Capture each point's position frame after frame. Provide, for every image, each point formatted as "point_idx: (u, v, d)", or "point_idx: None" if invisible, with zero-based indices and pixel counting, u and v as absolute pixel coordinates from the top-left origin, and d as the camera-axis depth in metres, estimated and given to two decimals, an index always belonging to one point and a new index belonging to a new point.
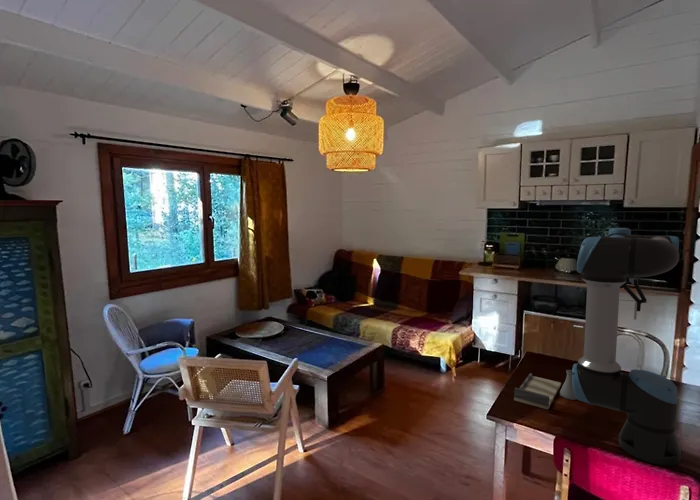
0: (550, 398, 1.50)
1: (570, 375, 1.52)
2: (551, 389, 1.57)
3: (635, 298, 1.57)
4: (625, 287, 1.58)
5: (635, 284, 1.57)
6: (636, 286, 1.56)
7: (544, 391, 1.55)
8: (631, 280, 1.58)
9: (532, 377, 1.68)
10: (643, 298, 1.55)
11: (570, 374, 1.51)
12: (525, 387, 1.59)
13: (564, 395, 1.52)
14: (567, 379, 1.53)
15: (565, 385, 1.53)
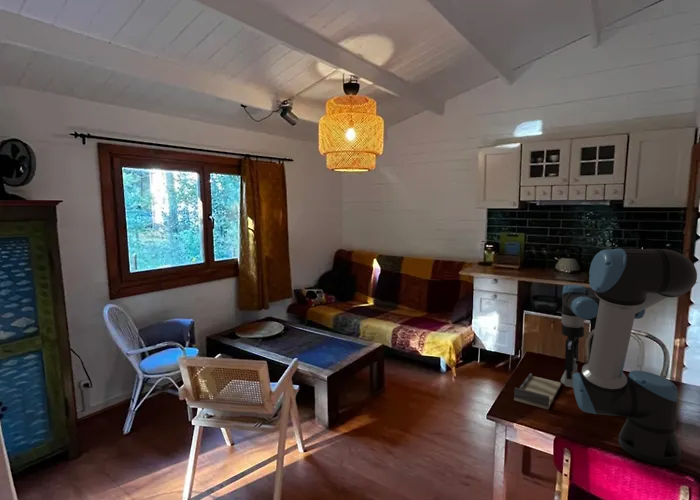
0: (550, 398, 1.50)
1: None
2: (551, 389, 1.57)
3: None
4: None
5: (566, 348, 1.47)
6: None
7: (544, 391, 1.55)
8: (568, 343, 1.47)
9: (532, 377, 1.68)
10: (565, 364, 1.47)
11: None
12: (525, 387, 1.59)
13: None
14: None
15: None
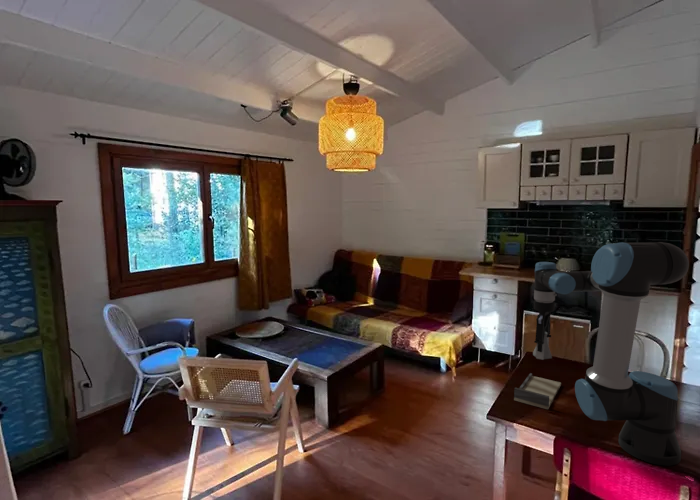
0: (550, 398, 1.50)
1: None
2: (551, 389, 1.57)
3: None
4: None
5: None
6: None
7: (544, 391, 1.55)
8: None
9: (532, 377, 1.68)
10: None
11: None
12: (525, 387, 1.59)
13: None
14: None
15: None
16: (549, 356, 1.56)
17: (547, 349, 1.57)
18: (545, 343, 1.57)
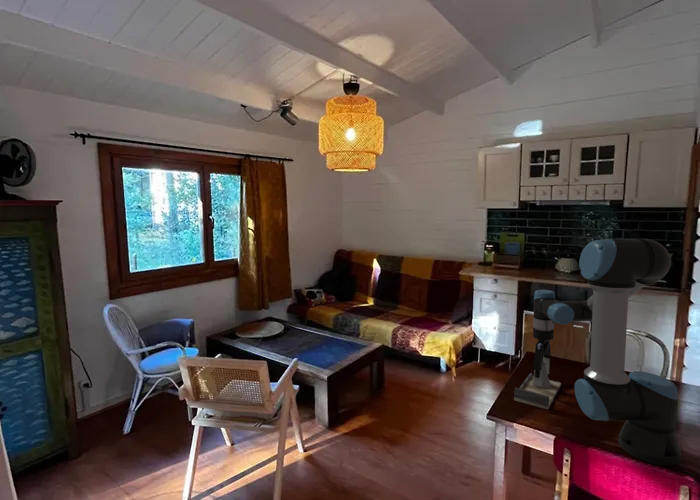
0: (550, 398, 1.50)
1: None
2: (551, 389, 1.57)
3: None
4: None
5: None
6: None
7: (544, 391, 1.55)
8: None
9: (532, 377, 1.68)
10: None
11: None
12: (525, 387, 1.59)
13: None
14: None
15: None
16: (548, 385, 1.58)
17: (546, 378, 1.58)
18: (544, 372, 1.58)
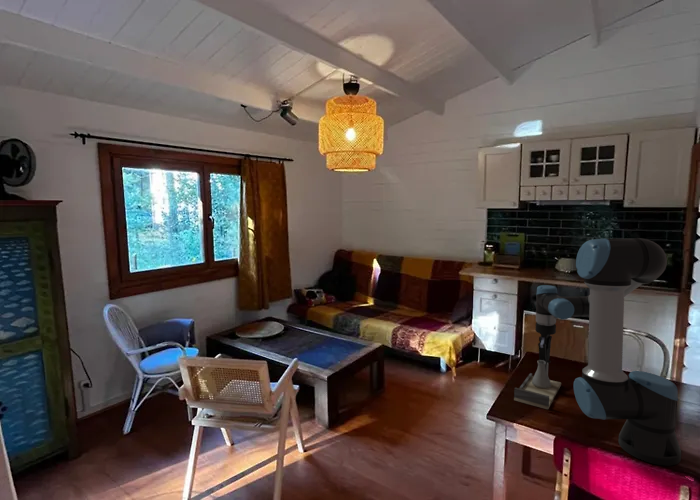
0: (550, 398, 1.50)
1: (541, 365, 1.57)
2: (551, 389, 1.57)
3: None
4: None
5: None
6: None
7: (544, 391, 1.55)
8: None
9: (532, 377, 1.68)
10: (539, 359, 1.61)
11: (541, 364, 1.57)
12: (525, 387, 1.59)
13: (536, 384, 1.59)
14: (538, 369, 1.59)
15: (536, 374, 1.59)
16: (548, 385, 1.57)
17: (546, 378, 1.58)
18: (544, 372, 1.58)
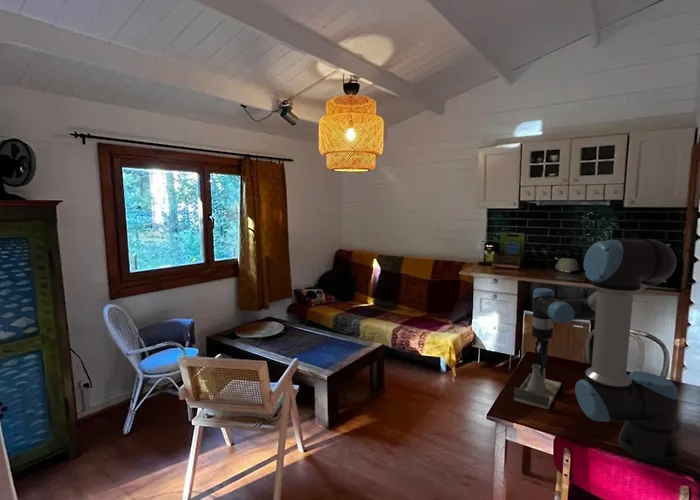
0: (550, 398, 1.50)
1: (535, 370, 1.54)
2: (551, 389, 1.57)
3: None
4: None
5: None
6: None
7: None
8: None
9: None
10: None
11: (534, 369, 1.53)
12: (525, 387, 1.59)
13: (529, 388, 1.56)
14: (532, 373, 1.55)
15: (531, 378, 1.56)
16: (542, 390, 1.53)
17: (540, 383, 1.53)
18: (538, 377, 1.54)
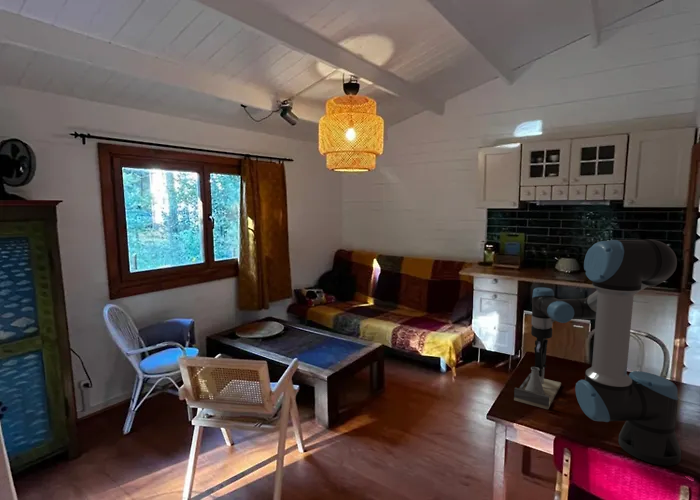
0: (550, 398, 1.50)
1: (533, 372, 1.52)
2: (551, 389, 1.57)
3: None
4: None
5: None
6: None
7: (544, 391, 1.55)
8: None
9: None
10: (535, 363, 1.56)
11: (533, 370, 1.52)
12: (525, 387, 1.59)
13: None
14: (531, 375, 1.54)
15: (529, 381, 1.54)
16: None
17: (538, 386, 1.52)
18: (536, 380, 1.52)
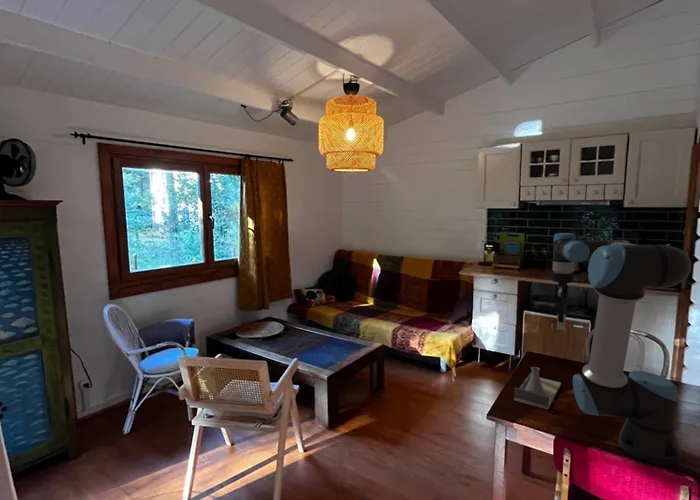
0: (550, 398, 1.50)
1: (533, 372, 1.52)
2: (551, 389, 1.57)
3: None
4: None
5: None
6: None
7: (544, 391, 1.55)
8: None
9: None
10: None
11: (533, 370, 1.52)
12: (525, 387, 1.59)
13: None
14: (531, 375, 1.54)
15: (529, 381, 1.54)
16: None
17: (538, 386, 1.52)
18: (536, 380, 1.52)
